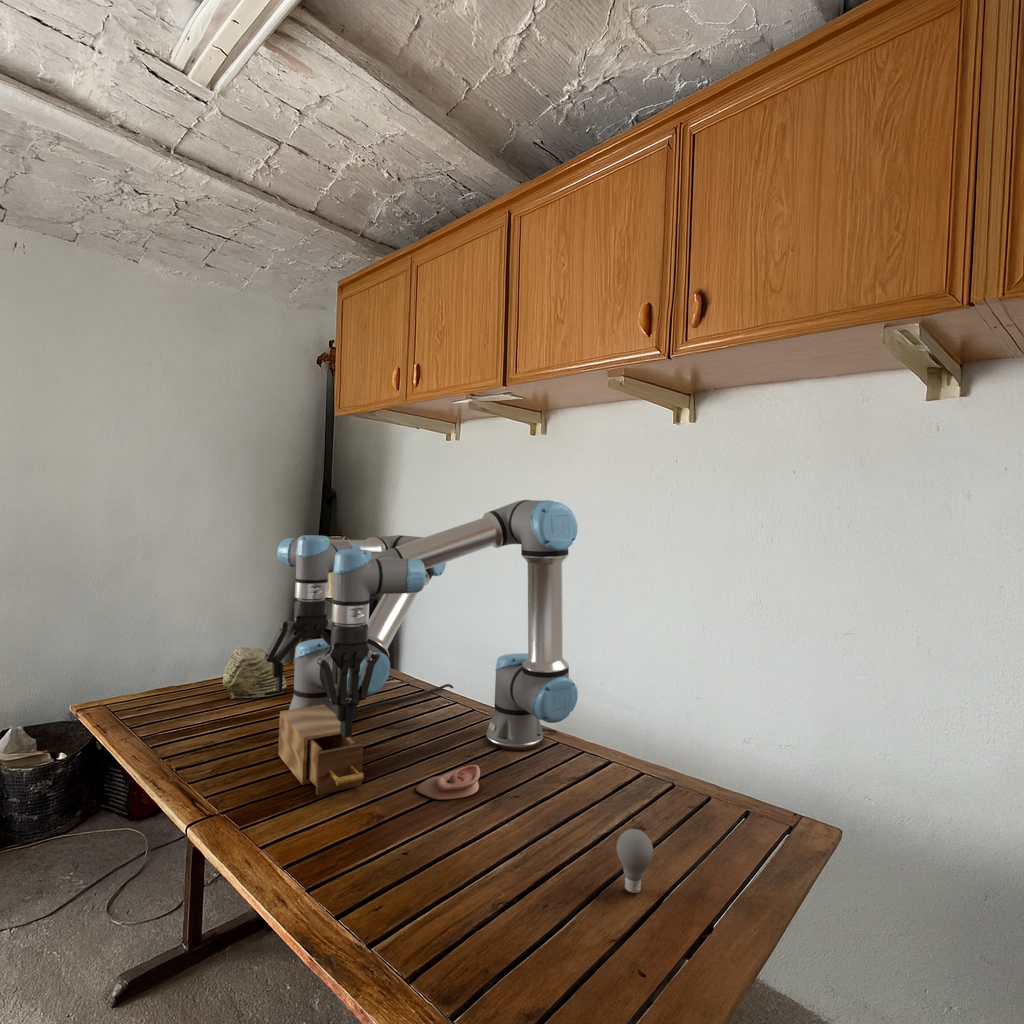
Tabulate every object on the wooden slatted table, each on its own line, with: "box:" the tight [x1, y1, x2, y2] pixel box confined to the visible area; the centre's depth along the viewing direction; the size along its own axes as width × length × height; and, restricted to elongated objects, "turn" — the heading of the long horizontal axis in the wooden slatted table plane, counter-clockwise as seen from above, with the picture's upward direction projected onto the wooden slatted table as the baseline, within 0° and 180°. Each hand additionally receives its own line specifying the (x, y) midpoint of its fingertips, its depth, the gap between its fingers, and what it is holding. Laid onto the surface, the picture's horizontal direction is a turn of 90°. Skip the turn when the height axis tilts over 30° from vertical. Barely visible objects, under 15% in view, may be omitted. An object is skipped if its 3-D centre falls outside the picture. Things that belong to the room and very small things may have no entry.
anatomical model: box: [415, 764, 481, 800], centre depth 140 cm, size 13×4×12 cm
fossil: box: [222, 646, 288, 699], centre depth 198 cm, size 9×18×15 cm, turn 132°
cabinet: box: [278, 705, 352, 786], centre depth 149 cm, size 19×11×11 cm, turn 36°
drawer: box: [306, 734, 365, 796], centre depth 140 cm, size 23×10×9 cm, turn 36°
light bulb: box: [615, 828, 654, 894], centre depth 106 cm, size 6×6×10 cm
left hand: (307, 686), depth 154 cm, fingers open, 13 cm apart
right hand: (345, 735), depth 133 cm, fingers closed
